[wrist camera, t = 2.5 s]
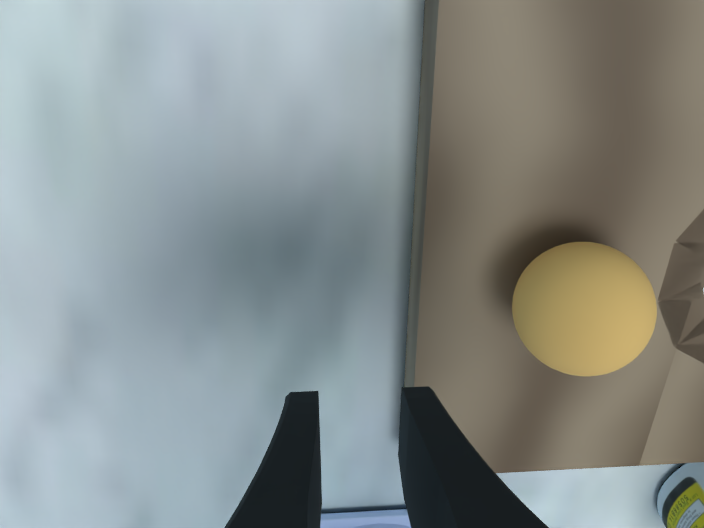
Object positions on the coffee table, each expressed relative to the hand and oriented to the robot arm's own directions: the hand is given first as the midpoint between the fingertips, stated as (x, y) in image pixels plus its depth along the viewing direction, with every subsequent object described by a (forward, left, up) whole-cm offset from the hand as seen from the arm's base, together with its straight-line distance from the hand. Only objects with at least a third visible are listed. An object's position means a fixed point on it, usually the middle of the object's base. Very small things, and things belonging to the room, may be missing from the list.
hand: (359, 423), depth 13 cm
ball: (+7, 0, -4) cm, 8 cm away
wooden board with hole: (+11, 0, -8) cm, 14 cm away
